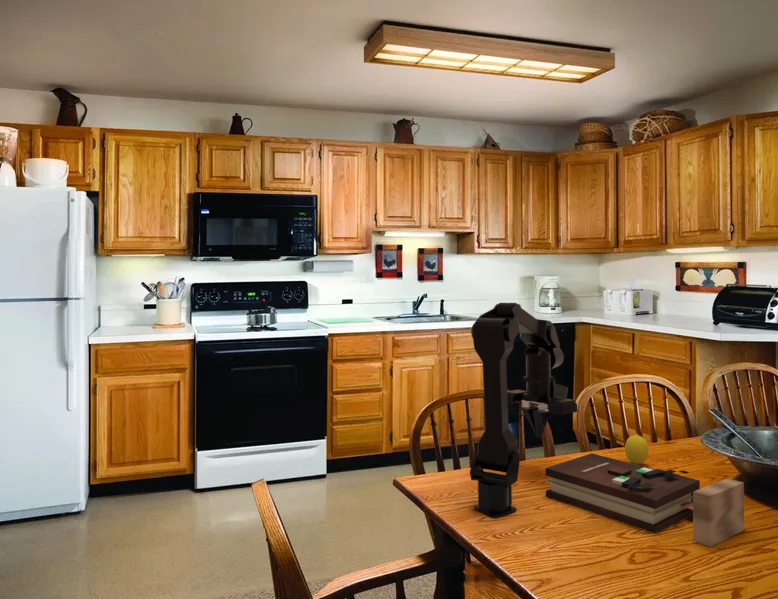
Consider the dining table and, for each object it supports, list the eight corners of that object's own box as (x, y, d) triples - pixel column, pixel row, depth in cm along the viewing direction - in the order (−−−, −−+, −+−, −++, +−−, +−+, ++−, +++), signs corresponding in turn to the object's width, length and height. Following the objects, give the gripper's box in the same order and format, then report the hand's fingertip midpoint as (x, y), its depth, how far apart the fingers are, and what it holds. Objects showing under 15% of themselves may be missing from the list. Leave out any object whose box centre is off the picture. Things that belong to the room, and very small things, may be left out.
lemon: (650, 464, 154) (650, 432, 153) (646, 470, 149) (646, 438, 149) (627, 461, 156) (627, 430, 156) (623, 466, 152) (622, 435, 152)
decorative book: (585, 446, 145) (714, 478, 121) (586, 477, 145) (714, 515, 121) (533, 462, 134) (663, 500, 110) (533, 496, 134) (664, 542, 110)
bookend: (709, 547, 106) (709, 496, 106) (693, 541, 109) (692, 491, 109) (744, 530, 113) (743, 482, 113) (727, 524, 116) (727, 478, 115)
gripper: (592, 373, 142) (592, 439, 143) (532, 365, 158) (532, 425, 158) (560, 378, 136) (561, 447, 137) (501, 369, 152) (502, 431, 152)
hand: (539, 437), depth 146 cm, fingers closed
